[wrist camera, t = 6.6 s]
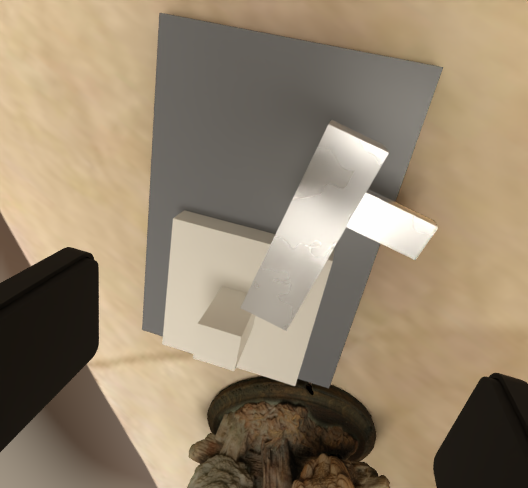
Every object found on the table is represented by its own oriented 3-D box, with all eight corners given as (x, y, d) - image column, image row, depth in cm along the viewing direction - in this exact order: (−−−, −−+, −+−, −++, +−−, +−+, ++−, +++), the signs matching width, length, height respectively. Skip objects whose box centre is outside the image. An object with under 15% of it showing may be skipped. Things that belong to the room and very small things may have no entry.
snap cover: (298, 369, 32) (284, 437, 26) (172, 330, 34) (130, 385, 28) (334, 249, 27) (328, 298, 21) (184, 210, 29) (137, 244, 23)
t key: (458, 164, 23) (538, 223, 13) (382, 275, 27) (399, 387, 17) (339, 108, 23) (328, 123, 13) (282, 226, 27) (240, 307, 17)
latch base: (329, 376, 34) (328, 388, 33) (150, 320, 36) (142, 329, 35) (437, 68, 23) (443, 67, 22) (169, 16, 25) (159, 12, 24)
